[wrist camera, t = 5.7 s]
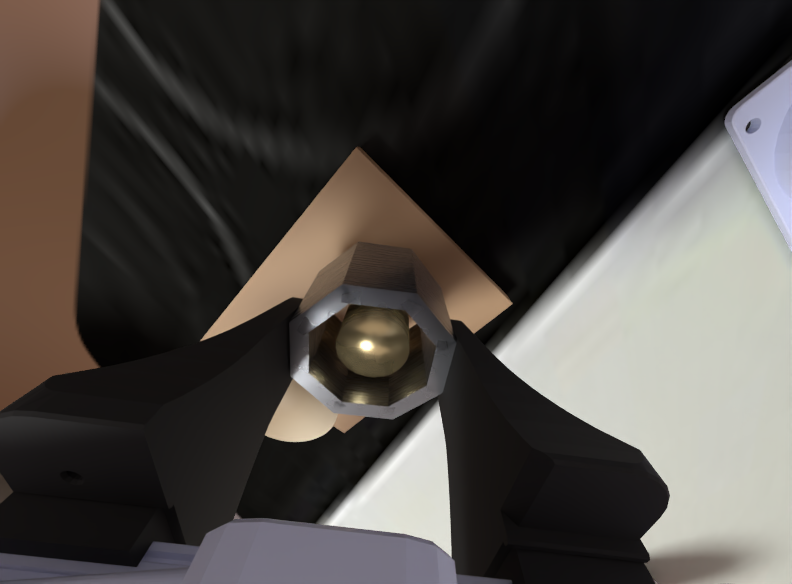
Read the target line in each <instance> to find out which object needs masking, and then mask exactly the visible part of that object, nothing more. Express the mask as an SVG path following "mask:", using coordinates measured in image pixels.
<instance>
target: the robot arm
mask: <svg viewBox="0 0 792 584" xmlns="http://www.w3.org/2000/svg"><path fill="white" fill-rule="evenodd" d="M749 122H751V125H750V127H749V129H748V130H747V131H746V130H745V128H746V126H747V124H748V123H749ZM725 127H726V129H727V131H728V133H729V135H730V136H731V138H732V140H733V142H734V144H735V146H736V148H737V150H738V151H739V153H740V155H741V157H742V159H743V161H744V163H745V165H746V167H747V168H748V170H749V172H750V174H751V176H752V178H753V180H754V182H755V184H756V185H757V187H758V189H759V191H760V193H761V195H762V197H763V199H764V201H765V202H766V204H767V206H768V208H769V210H770V212H771V214H772V216H773V218H774V219H775V221H776V223H777V225H778V227H779V229H780V231H781V233H782V235H783V236H784V238H785V240H786V242H787V244H788V246H789V248H790V250H791V251H792V60H791V61H790V62H788V63H787V64H786V65H785V66H783V67H782V68H781V69H780V70H778V71H777V72H776V73H775V74H773V75H772V76H771V77H770V78H768V79H767V80H766V81H765V82H763V83H762V84H761V85H760V86H758V87H757V88H756V89H755V90H753V91H752V92H751V93H750V94H748V95H747V96H746V97H744V98H743V99H742V100H741V101H739V102H738V103H737V104H736V105H734V106H733V107H732V108H731V109H730V110H729V112H728V114H727V115H726V118H725ZM302 300H303V298H296V297H291V298H289V299H287V300H285V301H283V302H282V303H280V304H278V305H276V306H274V307H273V308H271V309H269V310H267V311H265V312H263V313H262V314H260V315H258V316H256V317H254V318H252V319H250V320H248V321H246V322H244V323H242V324H240V325H238V326H236V327H234V328H232V329H230V330H227V331H225V332H223V333H220V334H218V335H216V336H213V337H210V338H208V339H205V340H203V341H200V342H197V343H194V344H191V345H188V346H185V347H181V348H178V349H175V350H172V351H169V352H165V353H162V354H158V355H155V356H151V357H147V358H143V359H139V360H135V361H130V362H126V363H122V364H117V365H112V366H107V367H102V368H96V369H90V370H85V371H79V372H74V373H68V374H62V375H55V376H52V377H50V378H49V379H47V380H46V381H45V382H43V383H41V384H40V385H39V386H37V387H36V388H34V389H33V390H31V391H30V392H28V393H27V394H25V395H24V396H23V397H21V398H19V399H18V400H16V401H15V402H13V403H12V404H10V405H9V406H7V407H6V408H4V409H3V410H1V411H0V473H1V475H2V476H3V478H4V479H5V480H6V482H7V483H8V485H9V486H10V488H11V489H12V491H14V492H13V493H12V494H10V495H9V496H8V497H7V498H6V499H5V500H4V501H3V502H2V503H0V584H656V583H655V582H654V580H653V578H652V576H651V575H650V573H649V571H648V569H647V567H646V566H645V564H644V563H647V562H648V561H649V560H650V557H649V553H648V552H647V550H646V548H645V547H644V545H643V543H642V541H641V540H640V538H641V537H642V536H643V535H644V534H645V533H646V532H647V531H648V530H649V529H650V528H651V527H652V526H653V525H654V524H655V522H656V521H657V520H658V519H659V518H660V517H661V516H662V514H663V513H664V511H665V510H666V509H667V505H668V501H669V497H670V494H669V491H668V487H667V485H666V484H665V483H664V481H663V480H662V479H661V477H660V476H659V475H658V473H657V472H656V471H655V469H654V468H653V467H652V465H651V464H650V463H649V461H648V460H647V459H646V457H645V456H644V455H643V453H642V452H641V451H640V450H639V449H637V448H635V447H633V446H631V445H629V444H627V443H625V442H623V441H621V440H619V439H617V438H614V437H612V436H610V435H608V434H606V433H604V432H602V431H600V430H598V429H597V428H595V427H593V426H591V425H589V424H588V423H586V422H584V421H582V420H581V419H579V418H577V417H575V416H574V415H572V414H570V413H569V412H567V411H565V410H564V409H562V408H561V407H559V406H558V405H556V404H555V403H553V402H552V401H550V400H549V399H547V398H546V397H544V396H543V395H541V394H540V393H538V392H537V391H536V390H534V389H533V388H532V387H530V386H529V385H528V384H526V383H525V382H524V381H523V380H521V379H520V378H519V377H518V376H516V375H515V374H514V373H513V372H512V371H510V370H509V369H508V368H507V367H506V366H505V365H504V364H503V363H502V362H501V361H500V360H498V359H497V358H496V357H495V356H494V355H493V354H492V353H491V352H490V351H489V350H488V349H487V348H486V346H485V345H484V344H483V343H482V342H481V341H480V340H479V339H478V338H477V337H476V336H475V335H474V334H473V332H472V331H471V330H470V329H469V328H468V327H467V326H466V325H465V324H464V323H463V322H462V321H459V320H452V319H450V321H451V324H452V328H453V332H454V335H455V338H456V341H457V343H456V347H455V350H454V354H453V357H452V361H451V365H450V368H449V372H448V375H447V379H446V382H445V386H444V390H443V393H441V394H440V395H438V400H439V406H440V411H441V417H442V423H443V428H444V434H445V441H446V449H447V463H448V478H449V496H450V518H451V546H452V558H451V557H450V556H449V555H448V554H447V553H446V552H444V551H443V550H442V549H441V548H440V547H438V546H437V545H436V544H435V543H433V542H432V541H429V540H425V539H421V538H418V537H414V536H410V535H406V534H399V533H391V532H382V531H373V530H364V529H355V528H346V527H337V526H329V525H320V524H311V523H302V522H293V521H284V520H275V519H266V518H257V519H235V520H233V519H234V516H235V513H236V510H237V508H238V505H239V502H240V499H241V496H242V494H243V491H244V488H245V485H246V482H247V480H248V477H249V475H250V472H251V469H252V467H253V464H254V461H255V459H256V456H257V454H258V451H259V449H260V446H261V444H262V441H263V439H264V436H265V434H266V431H267V429H268V426H269V424H270V422H271V420H272V418H273V416H274V414H275V412H276V410H277V408H278V406H279V404H280V402H281V400H282V398H283V397H284V395H285V393H286V391H287V389H288V387H289V385H290V383H291V381H292V379H293V378H292V377H290V333H289V322H290V321H291V319H292V317H293V315H294V314H295V312H296V310H297V309H298V308H299V305H300V303H301V302H302Z"/></svg>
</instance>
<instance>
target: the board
mask: <svg viewBox="0 0 792 584" xmlns="http://www.w3.org/2000/svg"><path fill="white" fill-rule="evenodd" d="M358 241H359V242H366V243H373V244H381V245H388V246H396V247H403V248H410V249H412V250H413V251H414V253H415V254H416V255H417V257H418V258H419V259H420V261H421V262H422V263H423V265H424V266H425V267H426V268H427V270H428V271H429V272H430V274H431V275H432V276H433V278H434V279H435V280H436V281H437V283H438V284H439V285H440V287H441V290H442V293H443V297H444V300H445V304H446V307H447V310H448V314H449V317H450V319H452V320H459V321H462V322H463V323H464V324H465V325H466V326H467V327H468V328H469V329H470V330H471V331H472V332H473V334H474V333H475V332H476V331H478V330H479V329H480V328H482V327H483V326H484V325H486V324H487V323H488V322H489V321H491V320H492V319H493V318H495V317H496V316H497V315H499V314H500V313H501V312H503V311H504V310H505V309H506V308H508V307H509V306H510V305H512V302H511V301H510V299H509V298H508V296H507V295H506V294H505V293H504V292H503V291H502V290H501V288H500V287H499V286H498V285H497V284H496V283H495V282H494V281H493V280H492V279H491V278H490V277H489V276H488V275H487V274H486V273H485V272H484V271H483V270H482V269H481V268H480V267H479V266H478V265H477V264H476V263H475V262H474V261H473V260H472V259H471V258H470V257H469V256H468V255H467V254H466V253H465V252H464V251H463V250H462V249H461V248H460V247H459V246H458V245H457V244H456V243H455V242H454V241H453V240H452V239H451V238H450V237H449V236H448V235H447V234H446V233H445V232H444V231H443V230H442V229H441V228H440V227H439V226H438V225H437V224H436V223H435V222H434V221H433V220H432V219H431V218H430V217H429V216H428V215H427V214H426V213H425V212H424V211H423V210H422V209H421V208H420V207H419V206H418V205H417V204H416V203H415V202H414V201H413V200H412V199H411V198H410V197H409V196H408V195H407V194H406V193H405V192H404V191H403V190H402V189H401V188H400V187H399V186H398V185H397V184H396V183H395V182H394V181H393V180H392V179H391V178H390V177H389V176H388V175H387V174H386V173H385V172H384V171H383V170H382V169H381V168H380V167H379V166H378V165H377V164H376V163H375V162H374V161H373V160H372V159H371V158H370V157H369V156H368V155H367V154H366V153H365V152H364V151H363V150H362V149H361V148H360V147H356V148H355V149H354V151H353V152H352V153H351V154H350V156H349V157H348V158H347V159H346V161H345V162H344V163H343V164H342V166H341V167H340V168H339V169H338V171H337V172H336V173H335V174H334V176H333V177H332V178H331V179H330V181H329V182H328V183H327V184H326V185H325V187H324V188H323V189H322V190H321V192H320V193H319V194H318V195H317V197H316V198H315V199H314V200H313V202H312V203H311V204H310V205H309V207H308V208H307V209H306V210H305V212H304V213H303V214H302V215H301V217H300V218H299V219H298V220H297V221H296V223H295V224H294V225H293V226H292V228H291V229H290V230H289V231H288V233H287V234H286V235H285V236H284V238H283V239H282V240H281V241H280V243H279V244H278V245H277V246H276V248H275V249H274V250H273V251H272V253H271V254H270V255H269V256H268V258H267V259H266V260H265V261H264V262H263V264H262V265H261V266H260V267H259V269H258V270H257V271H256V272H255V274H254V275H253V276H252V277H251V279H250V280H249V281H248V282H247V284H246V285H245V286H244V287H243V289H242V290H241V291H240V292H239V294H238V295H237V296H236V297H235V299H234V300H233V301H232V302H231V303H230V305H229V306H228V307H227V308H226V310H225V311H224V312H223V313H222V315H221V316H220V317H219V318H218V320H217V321H216V322H215V323H214V325H213V326H212V327H211V328H210V330H209V331H208V332H207V333H206V335H205V336H204V337H203V338H202V339H201V341H203V340H205V339H208V338H210V337H213V336H216V335H218V334H220V333H223V332H225V331H227V330H230V329H232V328H234V327H236V326H238V325H240V324H242V323H244V322H246V321H248V320H250V319H252V318H254V317H256V316H258V315H260V314H262V313H263V312H265V311H267V310H269V309H271V308H273V307H274V306H276V305H278V304H280V303H282V302H283V301H285V300H287V299H289V298H291V297H296V298H304V296H305V295H306V293H307V291H308V290H309V288H310V286H311V284H312V283H313V281H314V279H315V278H316V276H317V274H318V272H319V271H320V270H322V269H323V268H324V267H326V266H327V265H328V264H329V263H331V262H332V261H333V260H335V259H336V258H337V257H339V256H340V255H341V254H343V253H344V252H345V251H347V250H348V249H349V248H350V247H352V246H353V245H354V244H356V243H357V242H358ZM348 305H349V304H348ZM348 305H347V306H345V307H344V308H343V309H341V310H340V311H338V312H337V313H335V314H334V315H335V316H336V317H337V318H338V319H339V320H340V321H341V322H343V319H344V316H345V313H346V311H347V308H348ZM416 324H417V323H416V322H415V321H414V320H413V319H412V318H411V316H410V315H409V328H411V327H413V326H414V325H416ZM364 417H366V416H356V415H346V414H336V413H333V412H332V411H331V410H329V409H328V408H327V407H326V406H325V405H323V404H322V403H321V402H320V401H319V400H318V399H316V398H315V397H314V396H313V395H312V394H310V393H309V392H308V391H307V390H306V389H305V388H303V387H302V386H301V385H300V384H299V383H297V382H296V381H295V380H294V379H292V381H291V383H290V385H289V387H288V389H287V391H286V393H285V395H284V397H283V398H282V400H281V402H280V404H279V406H278V408H277V410H276V412H275V414H274V416H273V418H272V420H271V422H270V424H269V426H268V429H267V431H266V434H265V435H266V436H268V437H271V438H274V439H277V440H282V441H288V442H302V441H309V440H313V439H316V438H318V437H320V436H322V435H324V434H325V433H327V432H328V431H329V430H330V429H331V428H332V426H334V427H336V428H337V429H339V430H340V431H342V432H343V433H345V432H346V431H347V430H349V429H350V428H351V427H352V426H354V425H355V424H356V423H358V422H359V421H360V420H362V419H363V418H364Z"/></svg>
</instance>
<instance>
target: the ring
mask: <svg viewBox="0 0 792 584" xmlns="http://www.w3.org/2000/svg"><path fill="white" fill-rule="evenodd" d="M348 304H358V305H366V306H374V307H382V308H390V309H398V310H405V311H406V312H407V313H408V314H409V315H410V316H411V318H412V319H413V320H414V321H415V322H416V323H417V324H416V325H414V326H413V327H411V328H409V355H408V358H407V360H406V362H405V364H404V365H403V366H402V367H401V368H400V369H399V370H397V371H396V372H394V373H392V374H389V375H386V376H382V377H367V376H363V375H360V374H357V373H355V372H353V371H351V370H350V369H348V368H347V367H346V366H345V365H344V364H343V363H342V362H341V360H340V359H339V357H338V354H337V351H336V340H337V336H338V334H339V331H340V328H341V325H342V322H341V321H340V320H339V319H338V318H337V317H336V316H335V315H334V314H335V313H337V312H338V311H340V310H341V309H343V308H344V307H345V306H347V305H348ZM289 333H290V377H292V378H293V379H294V380H295V381H296V382H297V383H299V384H300V385H301V386H302V387H303V388H305V389H306V390H307V391H308V392H309V393H310V394H312V395H313V396H314V397H315V398H316V399H318V400H319V401H320V402H321V403H322V404H323V405H325V406H326V407H327V408H328V409H329V410H331V411H332V412H333V413H336V414H346V415H356V416H366V417H376V418H386V419H394V418H396V417H398V416H400V415H402V414H404V413H406V412H408V411H409V410H411V409H413V408H415V407H417V406H419V405H421V404H423V403H424V402H426V401H428V400H430V399H432V398H434V397H436V396H438V395H440V394H441V393H443V390H444V386H445V382H446V379H447V375H448V372H449V368H450V365H451V361H452V357H453V354H454V350H455V347H456V343H457V341H456V338H455V335H454V332H453V328H452V324H451V321H450V317H449V314H448V310H447V307H446V304H445V300H444V297H443V293H442V290H441V287H440V285H439V284H438V283H437V281H436V280H435V279H434V278H433V276H432V275H431V274H430V272H429V271H428V270H427V268H426V267H425V266H424V265H423V263H422V262H421V261H420V259H419V258H418V257H417V255H416V254H415V253H414V251H413V250H412V249H410V248H403V247H396V246H388V245H381V244H373V243H366V242H359V241H358V242H357V243H356V244H354V245H353V246H352V247H350V248H349V249H348V250H347V251H345V252H344V253H343V254H341V255H340V256H339V257H337V258H336V259H335V260H333V261H332V262H331V263H329V264H328V265H327V266H326V267H324V268H323V269H322V270H320V271H319V272H318V274H317V276H316V278H315V279H314V281H313V283H312V284H311V286H310V288H309V290H308V291H307V293H306V295H305V296H304V298H303V300H302V302H301V303H300V305H299V308H298V309H297V310H296V312H295V314H294V315H293V317H292V319H291V321H290V322H289Z"/></svg>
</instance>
